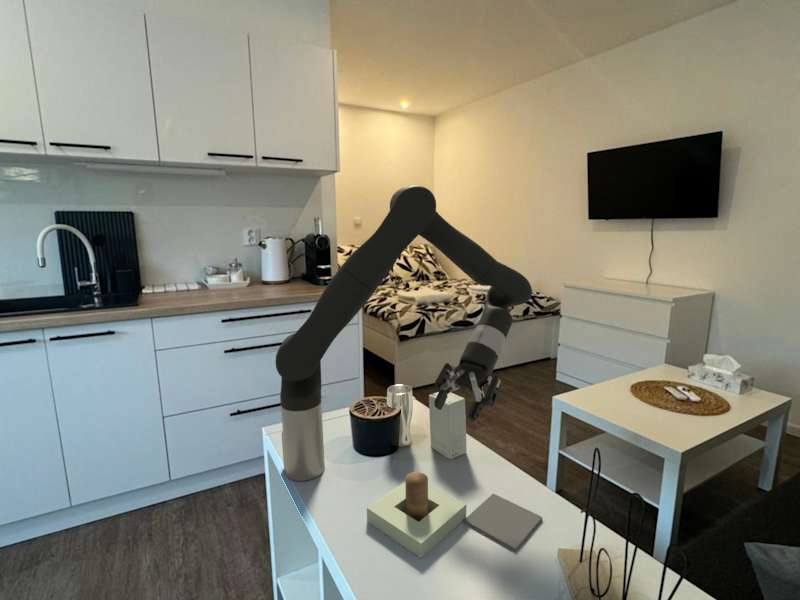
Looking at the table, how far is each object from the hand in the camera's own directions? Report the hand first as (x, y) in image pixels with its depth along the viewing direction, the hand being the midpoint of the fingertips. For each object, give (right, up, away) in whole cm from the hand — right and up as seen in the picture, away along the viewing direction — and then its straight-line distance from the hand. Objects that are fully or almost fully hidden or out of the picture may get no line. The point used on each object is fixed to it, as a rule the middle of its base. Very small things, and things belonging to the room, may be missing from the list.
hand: (453, 414), depth 89 cm
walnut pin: (-8, -20, -5) cm, 22 cm away
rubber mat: (+9, -19, -6) cm, 22 cm away
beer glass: (-11, -14, +25) cm, 31 cm away
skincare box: (+1, -15, +20) cm, 25 cm away
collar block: (-8, -20, -5) cm, 22 cm away
